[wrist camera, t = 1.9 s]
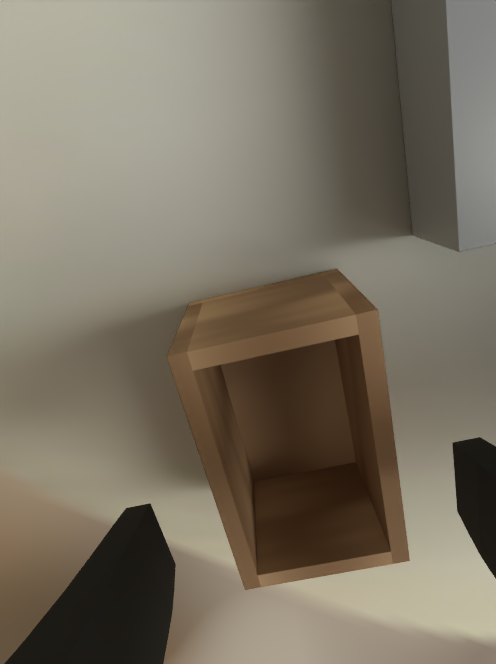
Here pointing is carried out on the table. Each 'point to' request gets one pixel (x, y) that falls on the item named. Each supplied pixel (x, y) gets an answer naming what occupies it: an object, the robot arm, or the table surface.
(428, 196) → the big crate
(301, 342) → the small crate
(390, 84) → the table surface
